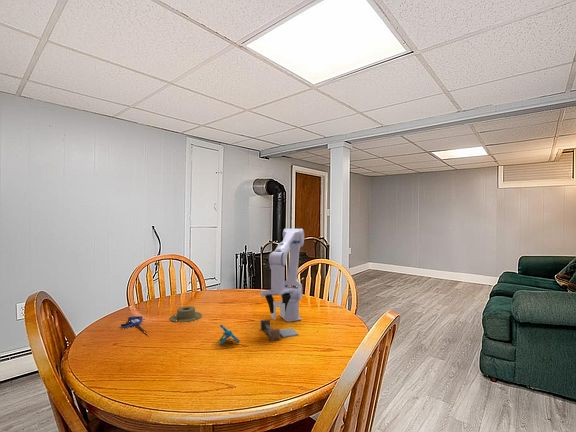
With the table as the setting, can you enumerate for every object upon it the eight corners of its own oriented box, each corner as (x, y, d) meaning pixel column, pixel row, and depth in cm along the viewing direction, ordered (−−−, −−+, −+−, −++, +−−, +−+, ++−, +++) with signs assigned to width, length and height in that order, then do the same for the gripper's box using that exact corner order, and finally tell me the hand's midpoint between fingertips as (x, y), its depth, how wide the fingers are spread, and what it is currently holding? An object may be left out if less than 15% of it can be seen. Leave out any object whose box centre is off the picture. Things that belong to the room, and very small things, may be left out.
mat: (277, 331, 131) (277, 330, 131) (292, 329, 133) (292, 328, 133) (282, 337, 124) (282, 336, 124) (298, 335, 127) (298, 333, 127)
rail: (260, 329, 134) (260, 320, 134) (269, 327, 135) (269, 318, 135) (270, 341, 120) (270, 331, 120) (279, 340, 122) (279, 330, 122)
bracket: (270, 316, 129) (270, 301, 129) (281, 314, 131) (281, 300, 131) (273, 319, 126) (273, 304, 125) (284, 317, 127) (285, 303, 127)
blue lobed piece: (243, 342, 116) (224, 325, 114) (233, 355, 114) (213, 338, 112) (236, 335, 126) (219, 320, 124) (227, 347, 124) (209, 332, 122)
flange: (162, 311, 145) (188, 315, 139) (184, 303, 159) (208, 306, 153) (162, 321, 145) (188, 325, 139) (184, 312, 159) (208, 315, 153)
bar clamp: (116, 319, 140) (139, 314, 147) (116, 324, 140) (139, 319, 147) (139, 343, 117) (165, 336, 123) (139, 349, 117) (165, 341, 124)
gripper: (264, 283, 122) (263, 316, 122) (297, 280, 127) (297, 312, 127) (259, 279, 129) (259, 311, 129) (291, 277, 134) (291, 307, 134)
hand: (277, 311), depth 128 cm, fingers closed on bracket, 5 cm apart
